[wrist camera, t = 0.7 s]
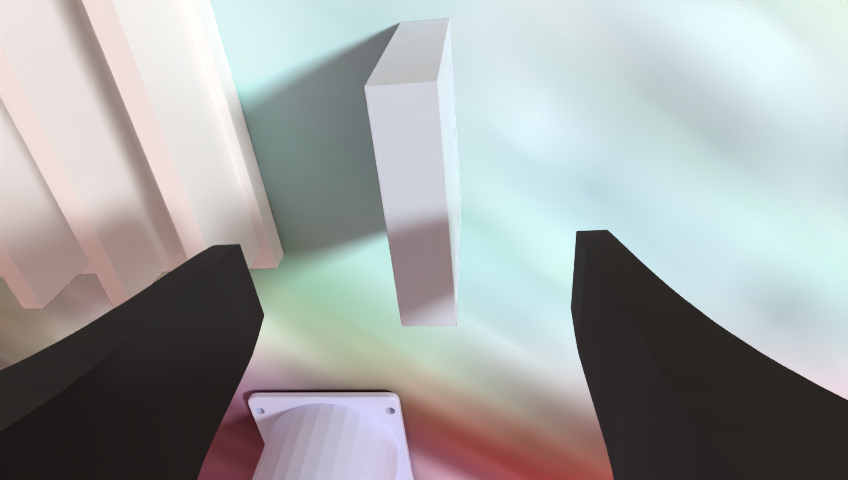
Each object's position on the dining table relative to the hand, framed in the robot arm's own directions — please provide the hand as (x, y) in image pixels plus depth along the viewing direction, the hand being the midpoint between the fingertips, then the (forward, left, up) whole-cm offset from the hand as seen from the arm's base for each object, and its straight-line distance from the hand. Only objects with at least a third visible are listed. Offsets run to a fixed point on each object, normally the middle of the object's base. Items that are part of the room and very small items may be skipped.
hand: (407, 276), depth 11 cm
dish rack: (+1, +15, -9) cm, 18 cm away
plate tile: (0, 0, -9) cm, 9 cm away
